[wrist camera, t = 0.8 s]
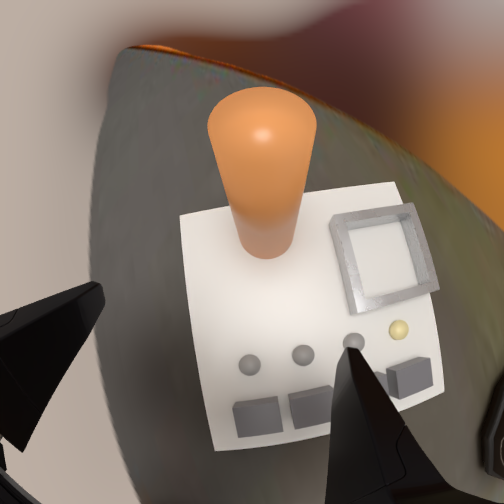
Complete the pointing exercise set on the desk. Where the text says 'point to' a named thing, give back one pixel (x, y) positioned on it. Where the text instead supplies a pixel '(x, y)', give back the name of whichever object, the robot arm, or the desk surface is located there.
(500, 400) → the black drum container
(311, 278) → the breaker panel
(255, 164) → the plug
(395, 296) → the socket collar
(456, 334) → the desk surface
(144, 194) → the desk surface
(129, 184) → the desk surface
